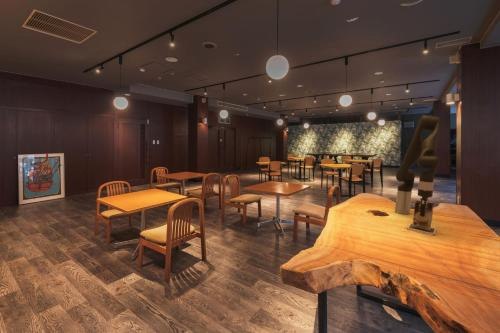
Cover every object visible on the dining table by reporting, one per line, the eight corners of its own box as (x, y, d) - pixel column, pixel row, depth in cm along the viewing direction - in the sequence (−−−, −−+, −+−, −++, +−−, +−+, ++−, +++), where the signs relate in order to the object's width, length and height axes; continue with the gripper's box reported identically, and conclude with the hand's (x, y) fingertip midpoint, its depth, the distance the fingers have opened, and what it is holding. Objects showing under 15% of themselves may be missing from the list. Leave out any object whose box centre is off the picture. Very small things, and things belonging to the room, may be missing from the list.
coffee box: (411, 227, 154) (414, 202, 152) (414, 224, 159) (416, 200, 157) (429, 231, 148) (432, 205, 146) (431, 228, 153) (434, 203, 151)
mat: (406, 229, 154) (406, 228, 153) (409, 224, 163) (409, 223, 163) (434, 235, 145) (434, 233, 145) (435, 229, 154) (436, 228, 154)
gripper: (419, 186, 158) (417, 211, 160) (416, 189, 147) (414, 216, 150) (433, 187, 154) (431, 213, 156) (432, 191, 143) (429, 219, 145)
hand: (422, 214), depth 153 cm, fingers closed on coffee box, 6 cm apart
